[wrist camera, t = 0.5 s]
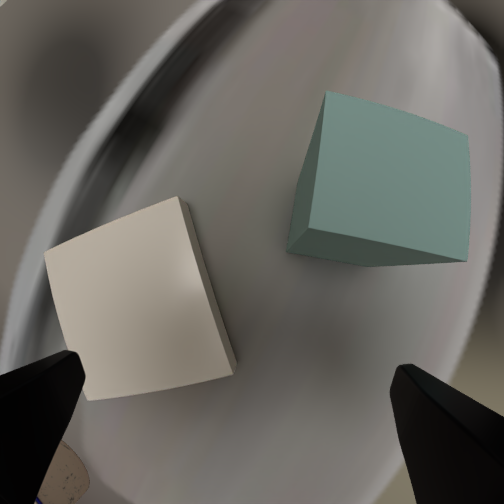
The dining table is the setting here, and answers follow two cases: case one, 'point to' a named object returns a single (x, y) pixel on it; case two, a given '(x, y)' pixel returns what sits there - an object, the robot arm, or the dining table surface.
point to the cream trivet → (140, 304)
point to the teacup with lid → (64, 478)
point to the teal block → (382, 188)
